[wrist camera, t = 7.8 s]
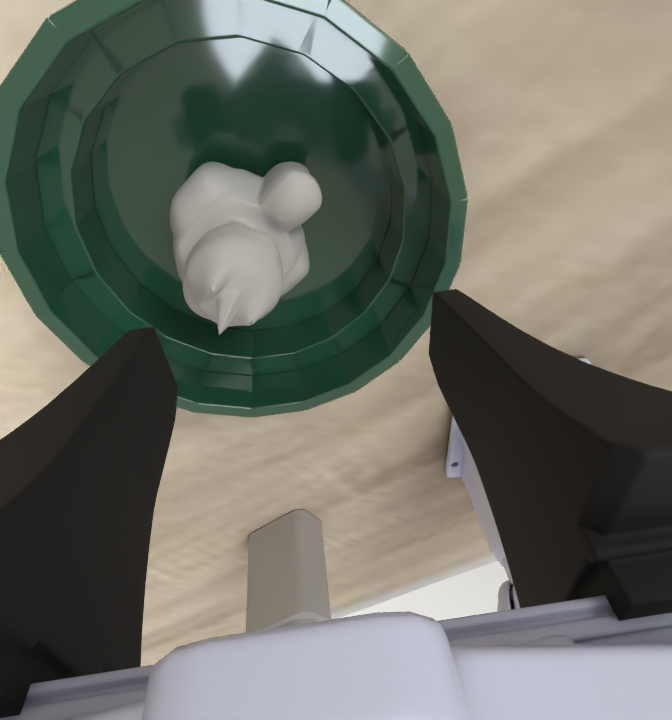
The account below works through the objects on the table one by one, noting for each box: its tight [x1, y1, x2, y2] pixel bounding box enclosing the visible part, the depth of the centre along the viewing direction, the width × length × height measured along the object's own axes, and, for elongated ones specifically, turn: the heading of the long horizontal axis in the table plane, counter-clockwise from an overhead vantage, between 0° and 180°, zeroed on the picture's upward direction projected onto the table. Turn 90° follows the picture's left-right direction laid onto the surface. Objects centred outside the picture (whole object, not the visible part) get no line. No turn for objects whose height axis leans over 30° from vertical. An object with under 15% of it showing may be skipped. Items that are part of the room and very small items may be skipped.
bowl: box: [0, 0, 468, 417], centre depth 18 cm, size 15×15×5 cm
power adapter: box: [246, 510, 331, 633], centre depth 30 cm, size 3×5×12 cm, turn 126°
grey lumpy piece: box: [170, 162, 322, 335], centre depth 16 cm, size 5×7×8 cm
